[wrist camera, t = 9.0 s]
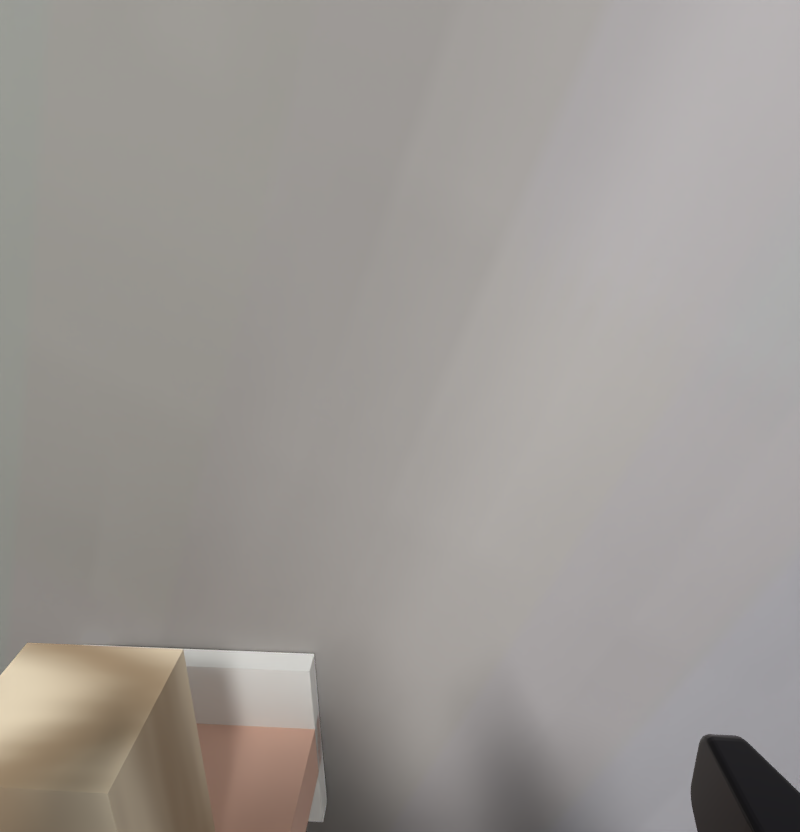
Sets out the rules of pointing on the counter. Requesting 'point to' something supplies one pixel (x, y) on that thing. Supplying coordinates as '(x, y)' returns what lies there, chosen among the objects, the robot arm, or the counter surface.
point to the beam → (100, 742)
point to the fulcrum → (259, 738)
